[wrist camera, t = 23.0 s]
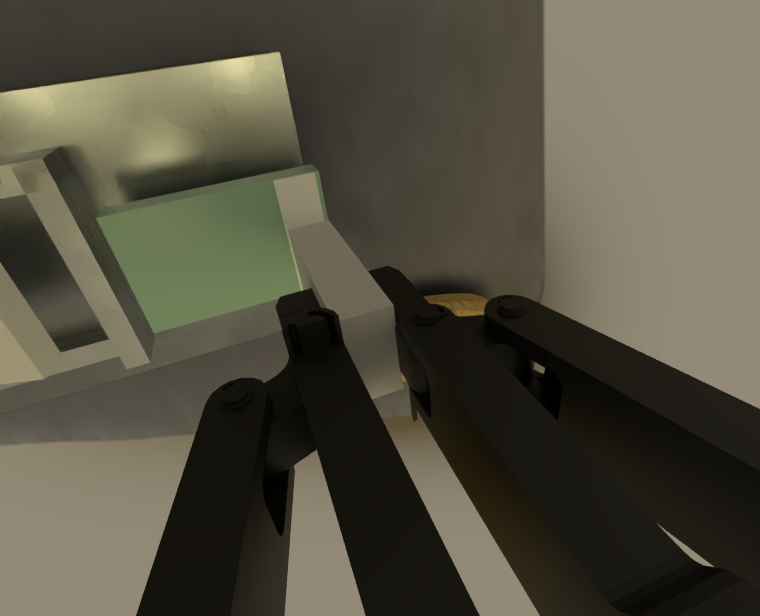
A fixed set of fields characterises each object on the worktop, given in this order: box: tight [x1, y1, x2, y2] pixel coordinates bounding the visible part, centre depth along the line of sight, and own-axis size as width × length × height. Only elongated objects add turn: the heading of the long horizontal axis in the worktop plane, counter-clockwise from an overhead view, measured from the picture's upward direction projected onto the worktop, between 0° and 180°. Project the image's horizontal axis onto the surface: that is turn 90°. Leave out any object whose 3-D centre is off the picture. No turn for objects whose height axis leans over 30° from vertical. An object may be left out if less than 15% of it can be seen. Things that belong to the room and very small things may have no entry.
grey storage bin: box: [0, 52, 304, 414], centre depth 20 cm, size 25×13×8 cm, turn 97°
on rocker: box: [96, 164, 328, 333], centre depth 18 cm, size 8×5×1 cm, turn 97°
